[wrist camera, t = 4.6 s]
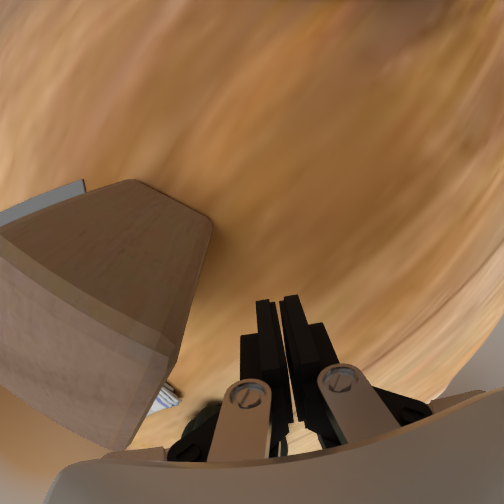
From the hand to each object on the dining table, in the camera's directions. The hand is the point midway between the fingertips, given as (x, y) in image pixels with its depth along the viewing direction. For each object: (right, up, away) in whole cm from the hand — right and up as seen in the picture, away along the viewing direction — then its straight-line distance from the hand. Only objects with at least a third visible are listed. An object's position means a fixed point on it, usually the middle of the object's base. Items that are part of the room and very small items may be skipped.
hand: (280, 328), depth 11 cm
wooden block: (-11, +4, +17) cm, 21 cm away
